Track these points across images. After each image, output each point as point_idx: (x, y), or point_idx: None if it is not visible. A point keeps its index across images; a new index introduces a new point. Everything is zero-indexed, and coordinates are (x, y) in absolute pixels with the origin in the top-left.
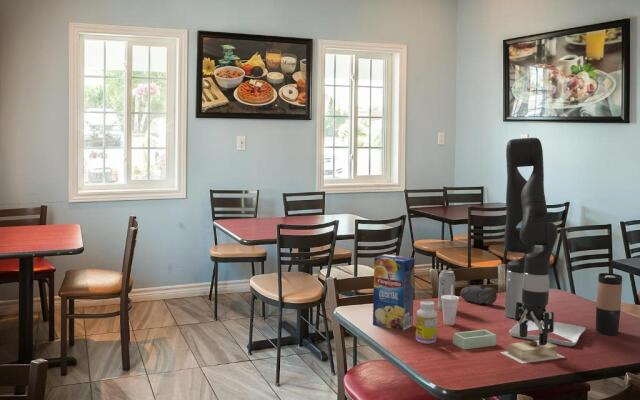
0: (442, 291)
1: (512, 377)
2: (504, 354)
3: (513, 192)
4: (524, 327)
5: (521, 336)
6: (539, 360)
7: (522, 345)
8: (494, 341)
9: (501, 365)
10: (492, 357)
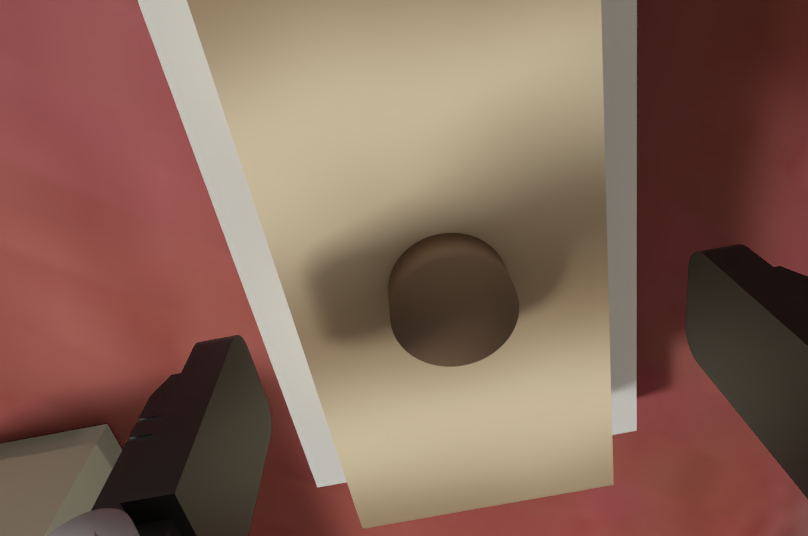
0: None
1: (765, 527)
2: None
3: None
4: (218, 511)
5: (269, 425)
6: (628, 241)
7: (437, 416)
8: (81, 501)
9: (531, 514)
10: (344, 514)
